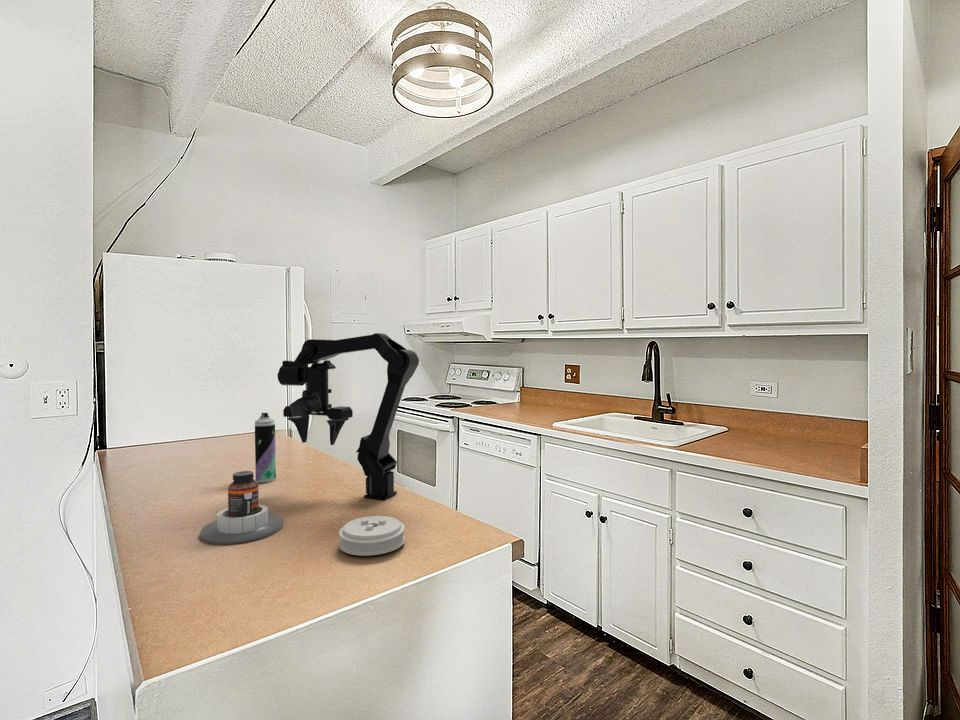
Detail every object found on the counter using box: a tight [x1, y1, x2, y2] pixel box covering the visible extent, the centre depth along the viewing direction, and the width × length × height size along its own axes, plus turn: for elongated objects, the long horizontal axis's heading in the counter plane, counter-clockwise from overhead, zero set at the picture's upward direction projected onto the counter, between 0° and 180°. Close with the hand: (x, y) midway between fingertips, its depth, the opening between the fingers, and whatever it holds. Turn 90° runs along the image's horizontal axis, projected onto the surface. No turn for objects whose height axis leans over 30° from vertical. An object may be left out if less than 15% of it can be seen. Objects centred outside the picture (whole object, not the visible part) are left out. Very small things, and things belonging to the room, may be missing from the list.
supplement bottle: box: [227, 470, 260, 518], centre depth 109 cm, size 6×6×11 cm
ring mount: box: [200, 504, 284, 546], centre depth 109 cm, size 16×16×4 cm
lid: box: [338, 515, 406, 557], centre depth 100 cm, size 13×13×5 cm
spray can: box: [254, 412, 277, 484], centre depth 148 cm, size 6×6×20 cm
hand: (318, 443), depth 137 cm, fingers open, 9 cm apart
